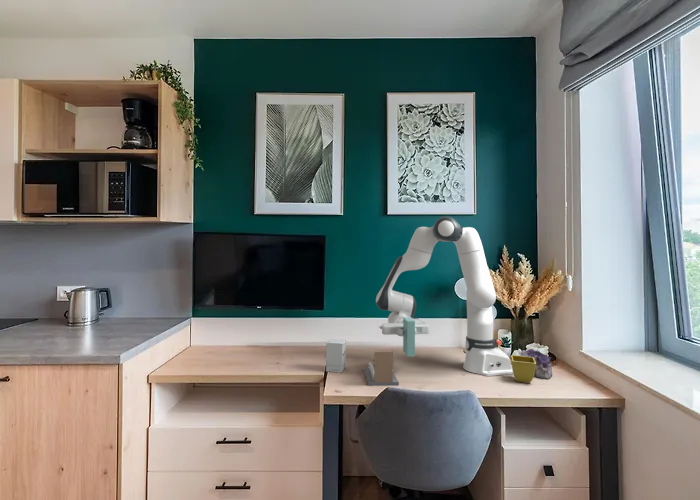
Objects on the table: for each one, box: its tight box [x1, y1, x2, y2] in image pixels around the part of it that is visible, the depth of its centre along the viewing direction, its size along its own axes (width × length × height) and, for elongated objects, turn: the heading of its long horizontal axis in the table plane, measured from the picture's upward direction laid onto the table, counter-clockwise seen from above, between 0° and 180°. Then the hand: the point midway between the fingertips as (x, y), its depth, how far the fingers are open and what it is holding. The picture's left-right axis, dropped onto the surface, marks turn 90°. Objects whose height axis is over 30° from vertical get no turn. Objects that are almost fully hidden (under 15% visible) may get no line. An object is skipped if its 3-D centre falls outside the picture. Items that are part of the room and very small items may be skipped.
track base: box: [363, 350, 400, 387], centre depth 161 cm, size 12×18×13 cm, turn 4°
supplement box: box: [325, 338, 347, 373], centre depth 170 cm, size 7×7×13 cm
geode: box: [519, 348, 553, 380], centre depth 170 cm, size 20×12×10 cm, turn 177°
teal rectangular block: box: [402, 317, 416, 357], centre depth 158 cm, size 3×8×14 cm, turn 4°
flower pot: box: [510, 354, 536, 384], centre depth 159 cm, size 9×9×9 cm
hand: (408, 332), depth 158 cm, fingers closed on teal rectangular block, 3 cm apart
